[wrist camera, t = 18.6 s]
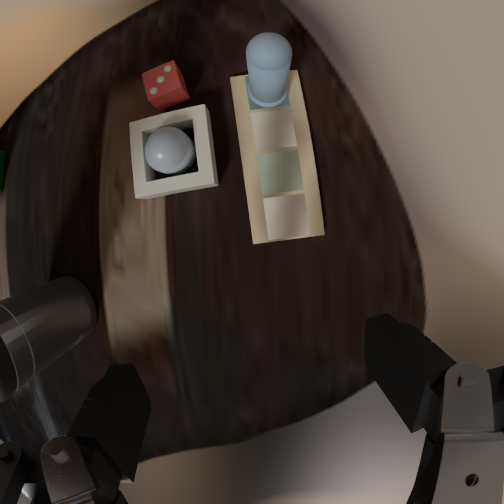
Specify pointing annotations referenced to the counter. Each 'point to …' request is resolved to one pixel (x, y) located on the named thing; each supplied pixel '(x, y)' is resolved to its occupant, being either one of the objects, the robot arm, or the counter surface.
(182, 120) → the base
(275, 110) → the track
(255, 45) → the pawn
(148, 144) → the light blue rounded piece
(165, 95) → the die
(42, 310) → the robot arm
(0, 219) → the counter surface
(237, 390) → the counter surface
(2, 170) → the milk carton
